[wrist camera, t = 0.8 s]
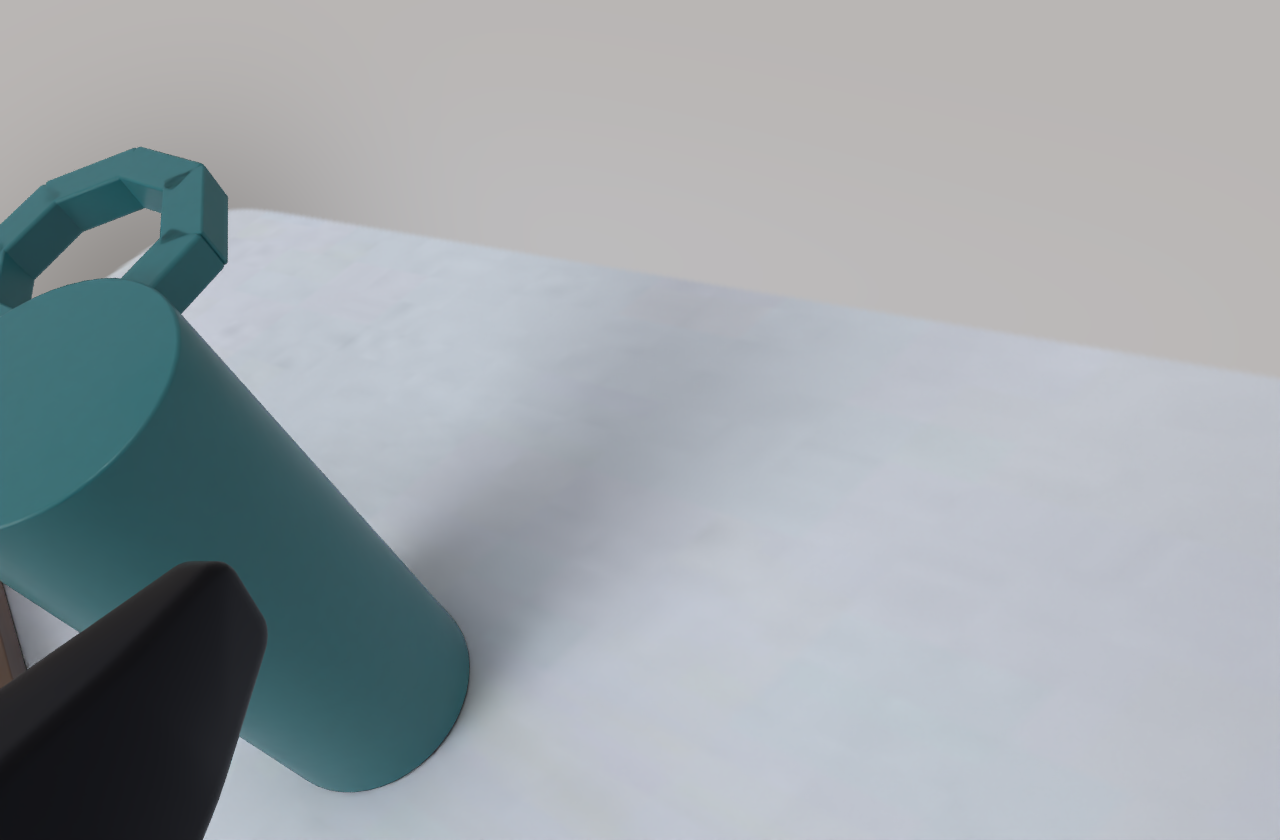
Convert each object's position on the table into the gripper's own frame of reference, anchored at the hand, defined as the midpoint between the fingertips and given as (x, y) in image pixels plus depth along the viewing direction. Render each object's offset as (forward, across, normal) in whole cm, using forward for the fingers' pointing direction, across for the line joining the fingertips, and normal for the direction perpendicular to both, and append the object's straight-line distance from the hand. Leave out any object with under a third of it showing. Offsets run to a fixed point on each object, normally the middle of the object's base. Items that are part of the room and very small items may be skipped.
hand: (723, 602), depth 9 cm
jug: (+11, +14, +13) cm, 22 cm away
